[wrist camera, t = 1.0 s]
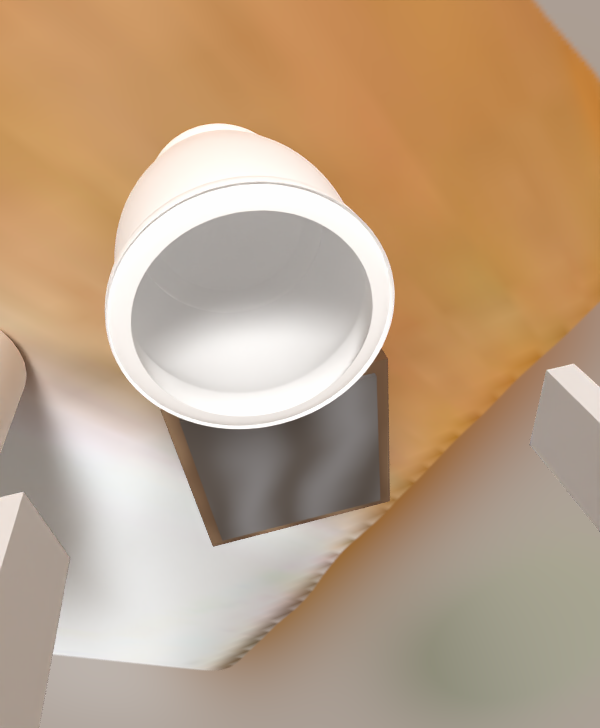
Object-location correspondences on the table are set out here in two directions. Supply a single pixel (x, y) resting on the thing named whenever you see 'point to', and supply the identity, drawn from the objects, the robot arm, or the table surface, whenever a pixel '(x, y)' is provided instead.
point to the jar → (243, 283)
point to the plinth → (290, 463)
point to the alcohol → (9, 383)
